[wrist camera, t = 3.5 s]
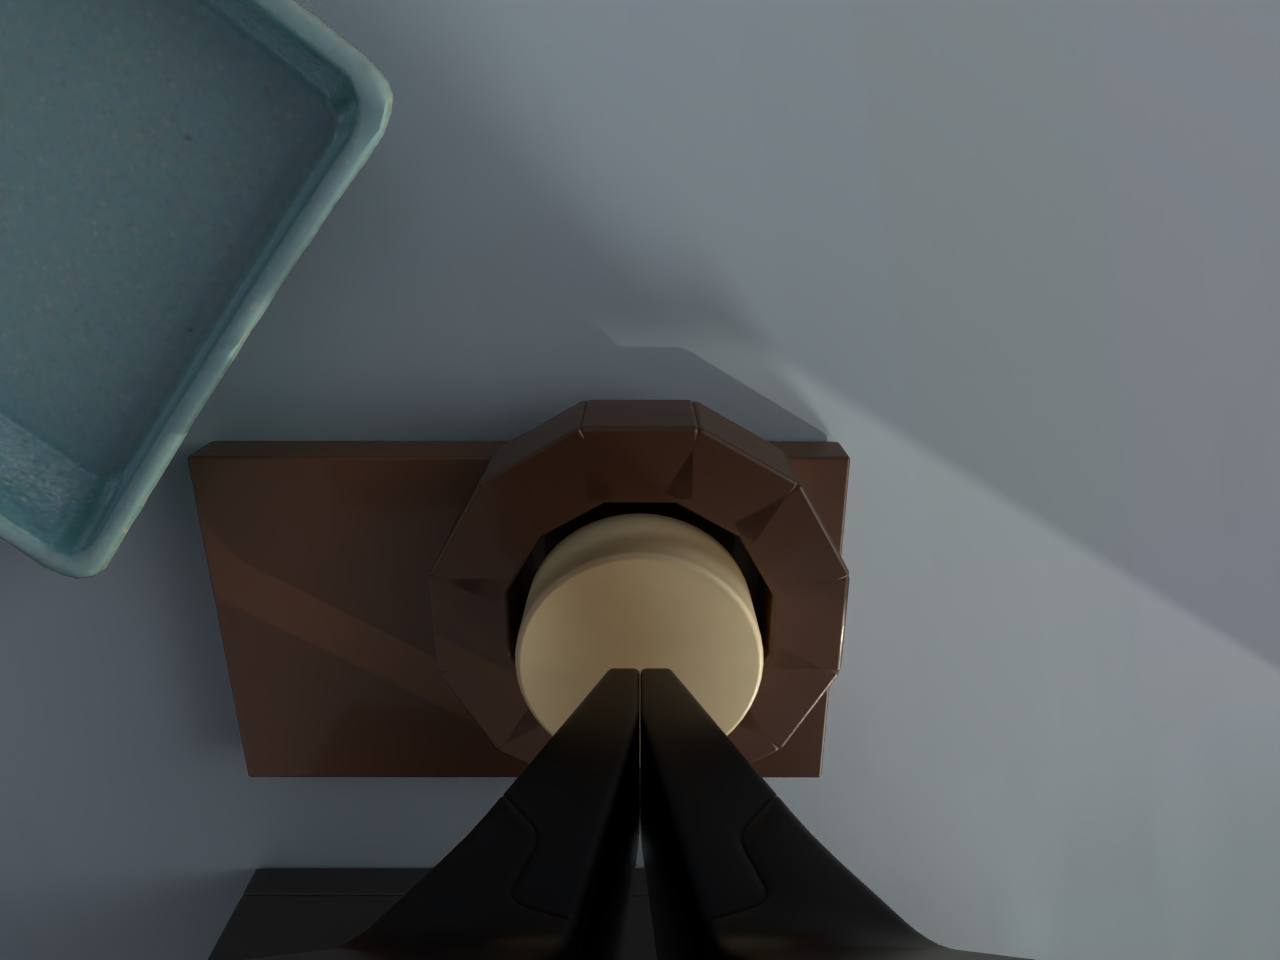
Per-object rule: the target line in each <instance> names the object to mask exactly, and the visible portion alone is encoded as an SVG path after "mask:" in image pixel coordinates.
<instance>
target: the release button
mask: <svg viewBox="0 0 1280 960" xmlns="http://www.w3.org/2000/svg"><path fill="white" fill-rule="evenodd" d="M515 667H516V675H517V680H518V683H519V687H520V690H521V693H522V695H523V697H524V699H525V702H526V704H527V706H528V707H529V709H530V711H531V712H532V714H533V715H534V717H535V718H536V720H537V721H538V722H539V723H540V724H541V726H542V727H543V728H544V729H545V730H546V731H547V732H548V733H549V734H550V735H552V736H553V735H554V734H555V733H556V732H557V731H558V729H559V728H560V727H561V726H562V725H563V723H564V722H565V721H566V720H567V719H568V718H569V716H570V715H571V714H572V713H573V712H574V710H575V709H576V708H577V707H578V706H579V704H580V703H581V702H582V701H583V700H584V699H585V697H586V696H587V695H588V694H589V693H590V691H591V690H592V689H593V688H594V687H595V686H596V684H597V683H598V682H599V681H600V680H601V678H602V677H603V676H604V675H605V674H606V672H607V671H608V670H610V669H611V668H635V669H637V670H638V671H639V672H641V671H642V670H643V669H645V668H669V669H670V670H672V671H673V672H674V674H675V675H676V676H677V677H678V678H679V680H680V681H681V682H682V683H683V684H684V685H685V687H686V688H687V689H688V690H689V691H690V693H691V694H692V695H693V696H694V697H695V699H696V700H697V701H698V702H699V703H700V704H701V706H702V707H703V708H704V709H705V710H706V712H707V713H708V714H709V715H710V716H711V718H712V719H713V720H714V721H715V722H716V723H717V725H718V726H719V727H720V728H721V729H722V731H723V732H724V733H725V734H726V735H728V734H729V733H730V732H731V731H733V730H734V729H735V727H736V726H737V725H738V724H739V723H740V721H741V720H742V719H743V718H744V716H745V715H746V713H747V711H748V710H749V708H750V707H751V705H752V703H753V701H754V699H755V696H756V694H757V692H758V689H759V685H760V682H761V678H762V671H763V646H762V640H761V635H760V631H759V627H758V623H757V619H756V615H755V611H754V607H753V603H752V600H751V596H750V592H749V589H748V586H747V583H746V580H745V577H744V575H743V573H742V571H741V569H740V567H739V566H738V564H737V563H736V561H735V560H734V558H733V557H732V556H731V554H730V553H729V552H728V551H727V550H726V549H725V548H724V547H723V546H722V545H721V544H720V543H719V542H718V541H716V540H715V539H714V538H713V537H712V536H710V535H709V534H707V533H705V532H704V531H702V530H701V529H699V528H697V527H695V526H693V525H691V524H689V523H686V522H684V521H681V520H678V519H675V518H671V517H667V516H662V515H656V514H643V513H636V514H623V515H617V516H612V517H607V518H604V519H601V520H598V521H595V522H592V523H590V524H588V525H586V526H584V527H581V528H580V529H578V530H576V531H575V532H573V533H572V534H570V535H568V536H567V537H566V538H565V539H563V540H562V541H561V542H560V543H559V544H557V545H556V546H555V548H554V549H553V550H552V551H551V552H550V553H549V554H548V555H547V557H546V558H545V559H544V561H543V562H542V564H541V565H540V567H539V569H538V571H537V573H536V575H535V577H534V579H533V582H532V585H531V588H530V591H529V594H528V598H527V602H526V606H525V610H524V614H523V618H522V621H521V625H520V629H519V633H518V637H517V643H516V649H515Z"/></svg>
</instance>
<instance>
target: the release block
mask: <svg viewBox="0 0 1280 960" xmlns="http://www.w3.org/2000/svg"><path fill="white" fill-rule="evenodd" d="M188 463H189V468H190V473H191V478H192V484H193V489H194V494H195V499H196V504H197V509H198V515H199V520H200V525H201V530H202V535H203V541H204V546H205V551H206V556H207V561H208V567H209V572H210V577H211V582H212V587H213V593H214V598H215V603H216V608H217V613H218V618H219V624H220V629H221V634H222V639H223V644H224V650H225V655H226V660H227V665H228V670H229V676H230V681H231V686H232V691H233V696H234V702H235V707H236V712H237V717H238V722H239V727H240V733H241V738H242V743H243V748H244V753H245V759H246V764H247V769H248V774H249V776H251V777H519V776H520V775H521V773H522V772H523V771H524V770H525V769H526V767H527V766H528V765H529V764H530V763H531V761H532V760H533V759H534V758H535V757H536V756H537V754H538V753H539V752H540V751H541V750H542V748H543V747H544V746H545V745H546V744H547V742H548V741H549V740H550V739H551V738H552V737H553V736H552V735H550V734H549V733H548V732H547V731H546V730H545V729H544V728H543V727H542V726H541V724H540V723H539V722H538V721H537V720H536V718H535V717H534V715H533V714H532V712H531V711H530V709H529V707H528V706H527V704H526V702H525V699H524V697H523V695H522V693H521V690H520V687H519V683H518V680H517V675H516V667H515V649H516V643H517V637H518V633H519V629H520V625H521V621H522V618H523V614H524V610H525V606H526V602H527V598H528V594H529V591H530V588H531V585H532V582H533V579H534V577H535V575H536V573H537V571H538V569H539V567H540V565H541V564H542V562H543V561H544V559H545V558H546V557H547V555H548V554H549V553H550V552H551V551H552V550H553V549H554V548H555V546H556V545H557V544H559V543H560V542H561V541H562V540H563V539H565V538H566V537H567V536H568V535H570V534H572V533H573V532H575V531H576V530H578V529H580V528H581V527H584V526H586V525H588V524H590V523H592V522H595V521H598V520H601V519H604V518H607V517H612V516H617V515H623V514H636V513H643V514H656V515H662V516H667V517H671V518H675V519H678V520H681V521H684V522H686V523H689V524H691V525H693V526H695V527H697V528H699V529H701V530H702V531H704V532H705V533H707V534H709V535H710V536H712V537H713V538H714V539H715V540H716V541H718V542H719V543H720V544H721V545H722V546H723V547H724V548H725V549H726V550H727V551H728V552H729V553H730V554H731V556H732V557H733V558H734V560H735V561H736V563H737V564H738V566H739V567H740V569H741V571H742V573H743V575H744V577H745V580H746V583H747V586H748V589H749V592H750V596H751V600H752V603H753V607H754V611H755V615H756V619H757V623H758V627H759V631H760V635H761V640H762V646H763V671H762V678H761V682H760V685H759V689H758V692H757V694H756V696H755V699H754V701H753V703H752V705H751V707H750V708H749V710H748V711H747V713H746V715H745V716H744V718H743V719H742V720H741V721H740V723H739V724H738V725H737V726H736V727H735V729H734V730H733V731H731V732H730V733H729V734H728V735H727V736H728V738H729V739H730V740H731V741H732V742H733V744H734V745H735V746H736V747H737V748H738V750H739V751H740V752H741V753H742V754H743V755H744V757H745V758H746V759H747V760H748V761H749V763H750V764H751V765H752V766H753V767H754V769H755V770H756V771H757V772H758V773H759V774H760V776H761V777H820V776H821V772H822V761H823V750H824V739H825V728H826V717H827V706H828V696H829V686H830V685H831V684H832V682H833V681H834V680H835V678H836V677H837V675H838V671H839V670H840V668H841V662H842V651H843V641H844V630H845V620H846V610H847V599H848V589H849V576H848V575H849V571H848V569H847V567H846V565H845V563H844V561H843V559H842V557H841V553H842V542H843V532H844V521H845V510H846V499H847V488H848V477H849V466H850V458H849V456H848V455H847V454H846V452H845V451H844V449H843V448H842V447H841V445H840V444H839V443H838V442H767V441H765V440H763V439H762V438H760V437H758V436H756V435H755V434H753V433H751V432H749V431H748V430H746V429H744V428H742V427H741V426H739V425H737V424H735V423H734V422H732V421H730V420H728V419H727V418H725V417H723V416H721V415H720V414H718V413H716V412H714V411H713V410H711V409H709V408H707V407H705V406H704V405H702V404H700V403H698V402H692V401H689V400H589V401H587V402H586V401H582V402H580V403H578V404H576V405H575V406H573V407H571V408H569V409H568V410H566V411H564V412H562V413H560V414H559V415H557V416H555V417H553V418H552V419H550V420H548V421H546V422H545V423H543V424H541V425H539V426H537V427H536V428H534V429H532V430H530V431H529V432H527V433H525V434H523V435H522V436H520V437H518V438H516V439H515V440H513V441H511V442H407V441H213V442H210V443H209V444H207V445H206V446H204V447H203V448H201V449H200V450H198V451H197V452H195V453H194V454H192V455H190V456H189V457H188Z"/></svg>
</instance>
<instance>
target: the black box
mask: <svg viewBox="0 0 1280 960" xmlns="http://www.w3.org/2000/svg"><path fill="white" fill-rule="evenodd" d="M431 870H432V869H257V870H256V871H255V873H254V875H253V877H252V879H251V880H250V882H249V884H248V886H247V888H246V890H245V891H244V894H243V897H242V898H241V899H240V901H239V903H238V905H237V907H236V909H235V910H234V912H233V914H232V916H231V918H230V920H229V921H228V923H227V925H226V927H225V929H224V931H223V932H222V934H221V936H220V938H219V940H218V942H217V944H216V945H215V947H214V949H213V951H212V953H211V955H210V956H209V958H208V960H247V959H255V958H263V957H271V956H279V955H287V954H295V953H303V952H311V951H319V950H326V949H331V948H333V947H336V946H339V945H342V944H343V943H345V942H347V941H349V940H351V939H353V938H354V937H356V936H357V935H358V934H360V933H361V932H363V931H364V930H365V929H366V928H368V927H369V926H370V925H371V924H372V923H374V922H375V921H376V920H377V919H378V918H379V917H380V916H381V915H383V914H384V913H385V912H386V911H387V910H388V909H389V908H390V907H391V906H392V905H393V904H395V903H396V902H397V901H398V900H399V899H400V898H401V897H402V896H403V895H404V894H406V893H407V892H408V891H409V890H410V889H411V888H412V887H413V886H414V885H415V884H416V883H418V882H419V881H420V880H421V879H422V878H423V877H424V876H425V875H426V874H427V873H429V872H430V871H431ZM623 960H657V955H656V947H655V940H654V932H653V925H652V918H651V910H650V903H649V895H648V888H647V880H646V873H645V869H635V873H634V880H633V888H632V895H631V903H630V910H629V918H628V925H627V932H626V940H625V947H624V955H623Z"/></svg>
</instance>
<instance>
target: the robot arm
mask: <svg viewBox="0 0 1280 960" xmlns="http://www.w3.org/2000/svg"><path fill="white" fill-rule="evenodd" d="M639 826H641V841H642V850H643V858H644V865H645V873H646V880H647V888H648V895H649V903H650V910H651V918H652V925H653V932H654V940H655V947H656V955H657V960H1033V959H1025V958H1017V957H1009V956H1001V955H993V954H985V953H977V952H969V951H961V950H954V949H950V948H947V947H944V946H941V945H938V944H937V943H935V942H933V941H931V940H929V939H927V938H926V937H924V936H923V935H922V934H920V933H919V932H917V931H916V930H915V929H914V928H912V927H911V926H910V925H909V924H908V923H906V922H905V921H904V920H903V919H902V918H901V917H900V916H899V915H897V914H896V913H895V912H894V911H893V910H892V909H891V908H890V907H889V906H888V905H887V904H885V903H884V902H883V901H882V900H881V899H880V898H879V897H878V896H877V895H876V894H874V893H873V892H872V891H871V890H870V889H869V888H868V887H867V886H866V885H865V884H864V883H862V882H861V881H860V880H859V879H858V878H857V877H856V876H855V875H854V874H853V873H851V872H850V871H849V870H848V869H847V868H846V867H845V866H844V865H843V864H842V863H841V862H839V861H838V860H837V859H836V858H835V857H834V856H833V855H832V854H831V853H830V852H829V851H828V850H827V849H826V848H825V847H824V846H823V845H822V844H821V843H820V842H819V841H818V840H817V839H816V838H815V837H814V836H813V835H812V834H811V833H810V832H809V831H808V830H807V829H806V828H805V826H804V825H803V824H802V823H801V822H800V821H799V820H798V819H797V818H796V817H795V815H794V814H793V813H792V812H791V811H790V810H789V809H788V807H787V806H786V805H785V804H784V803H783V801H782V800H781V799H780V798H779V797H777V796H776V793H775V792H774V791H773V790H772V789H771V787H770V786H769V785H768V784H767V783H766V782H765V780H764V779H763V778H762V777H761V776H760V774H759V773H758V772H757V771H756V770H755V769H754V767H753V766H752V765H751V764H750V763H749V761H748V760H747V759H746V758H745V757H744V755H743V754H742V753H741V752H740V751H739V750H738V748H737V747H736V746H735V745H734V744H733V742H732V741H731V740H730V739H729V738H728V736H727V735H726V734H725V733H724V732H723V731H722V729H721V728H720V727H719V726H718V725H717V723H716V722H715V721H714V720H713V719H712V718H711V716H710V715H709V714H708V713H707V712H706V710H705V709H704V708H703V707H702V706H701V704H700V703H699V702H698V701H697V700H696V699H695V697H694V696H693V695H692V694H691V693H690V691H689V690H688V689H687V688H686V687H685V685H684V684H683V683H682V682H681V681H680V680H679V678H678V677H677V676H676V675H675V674H674V672H673V671H672V670H670V669H669V668H645V669H643V670H642V671H641V672H639V671H638V670H637V669H635V668H611V669H610V670H608V671H607V672H606V674H605V675H604V676H603V677H602V678H601V680H600V681H599V682H598V683H597V684H596V686H595V687H594V688H593V689H592V690H591V691H590V693H589V694H588V695H587V696H586V697H585V699H584V700H583V701H582V702H581V703H580V704H579V706H578V707H577V708H576V709H575V710H574V712H573V713H572V714H571V715H570V716H569V718H568V719H567V720H566V721H565V722H564V723H563V725H562V726H561V727H560V728H559V729H558V731H557V732H556V733H555V734H554V735H553V737H552V738H551V739H550V740H549V741H548V742H547V744H546V745H545V746H544V747H543V748H542V750H541V751H540V752H539V753H538V754H537V756H536V757H535V758H534V759H533V760H532V761H531V763H530V764H529V765H528V766H527V767H526V769H525V770H524V771H523V772H522V773H521V775H520V776H519V777H518V778H517V779H516V780H515V782H514V783H513V784H512V785H511V786H510V788H509V789H508V790H507V791H506V792H505V794H504V796H503V797H501V798H500V799H499V800H498V801H497V803H496V804H495V805H494V806H493V807H492V809H491V810H490V811H489V812H488V813H487V814H486V815H485V817H484V818H483V819H482V820H481V821H480V822H479V823H478V824H477V825H476V826H475V828H474V829H473V830H472V831H471V832H470V833H469V834H468V835H467V836H466V837H465V838H464V839H463V840H462V841H461V842H460V843H459V844H458V845H457V846H456V847H455V848H454V849H453V850H452V851H451V852H450V853H449V854H448V855H447V856H446V857H445V858H444V859H443V860H442V861H441V862H440V863H438V864H437V865H436V866H435V867H434V868H433V869H432V870H431V871H430V872H429V873H427V874H426V875H425V876H424V877H423V878H422V879H421V880H420V881H419V882H418V883H416V884H415V885H414V886H413V887H412V888H411V889H410V890H409V891H408V892H407V893H406V894H404V895H403V896H402V897H401V898H400V899H399V900H398V901H397V902H396V903H395V904H393V905H392V906H391V907H390V908H389V909H388V910H387V911H386V912H385V913H384V914H383V915H381V916H380V917H379V918H378V919H377V920H376V921H375V922H374V923H372V924H371V925H370V926H369V927H368V928H366V929H365V930H364V931H363V932H361V933H360V934H358V935H357V936H356V937H354V938H353V939H351V940H349V941H347V942H345V943H343V944H342V945H339V946H336V947H333V948H331V949H326V950H319V951H311V952H303V953H295V954H287V955H279V956H271V957H263V958H255V959H247V960H623V955H624V947H625V940H626V932H627V925H628V918H629V910H630V903H631V895H632V888H633V880H634V873H635V865H636V858H637V850H638V841H639Z"/></svg>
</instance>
